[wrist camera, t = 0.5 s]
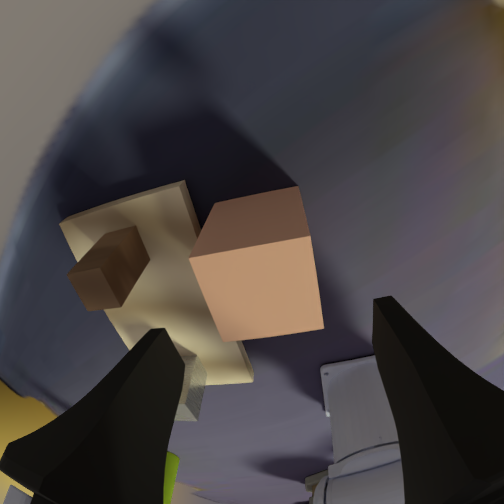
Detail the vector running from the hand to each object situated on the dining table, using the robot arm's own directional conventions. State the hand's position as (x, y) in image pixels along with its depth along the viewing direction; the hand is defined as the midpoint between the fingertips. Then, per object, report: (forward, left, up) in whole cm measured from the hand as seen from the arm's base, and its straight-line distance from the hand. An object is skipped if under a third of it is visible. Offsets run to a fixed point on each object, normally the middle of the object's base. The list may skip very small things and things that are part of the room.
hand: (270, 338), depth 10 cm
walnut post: (+1, +10, -9) cm, 13 cm away
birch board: (-5, +10, -10) cm, 15 cm away
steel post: (-11, +10, -9) cm, 18 cm away
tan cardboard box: (-1, +1, -10) cm, 10 cm away
